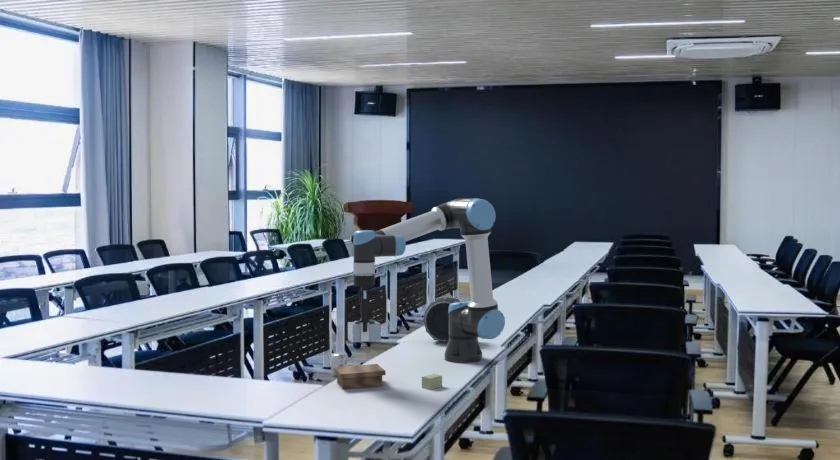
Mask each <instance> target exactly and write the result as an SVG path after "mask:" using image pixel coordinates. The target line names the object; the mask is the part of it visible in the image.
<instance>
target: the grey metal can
mask: <svg viewBox="0 0 840 460" xmlns="http://www.w3.org/2000/svg"><path fill="white" fill-rule="evenodd" d="M342 366H348V353H347V352H333V353H330V376H331V377H333V378H337V374H336V373H335V372H334V367H342Z"/></svg>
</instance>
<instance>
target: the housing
mask: <svg viewBox="0 0 840 460" xmlns="http://www.w3.org/2000/svg"><path fill="white" fill-rule="evenodd" d="M381 332H382V331H381V322H378V321H376V320H375V319H369V341H361V323H359V320H354V321H347V340H349V342H351V343H364V342H367V343H368V342H380V341H381V335H382V334H381Z"/></svg>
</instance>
